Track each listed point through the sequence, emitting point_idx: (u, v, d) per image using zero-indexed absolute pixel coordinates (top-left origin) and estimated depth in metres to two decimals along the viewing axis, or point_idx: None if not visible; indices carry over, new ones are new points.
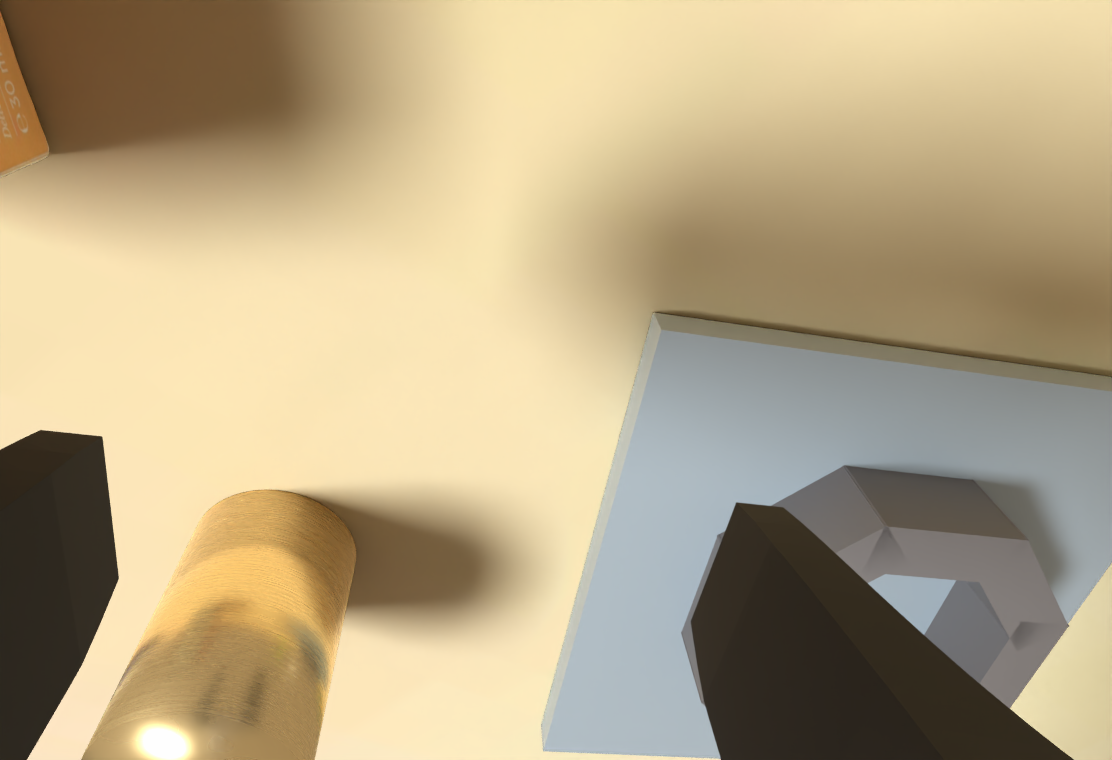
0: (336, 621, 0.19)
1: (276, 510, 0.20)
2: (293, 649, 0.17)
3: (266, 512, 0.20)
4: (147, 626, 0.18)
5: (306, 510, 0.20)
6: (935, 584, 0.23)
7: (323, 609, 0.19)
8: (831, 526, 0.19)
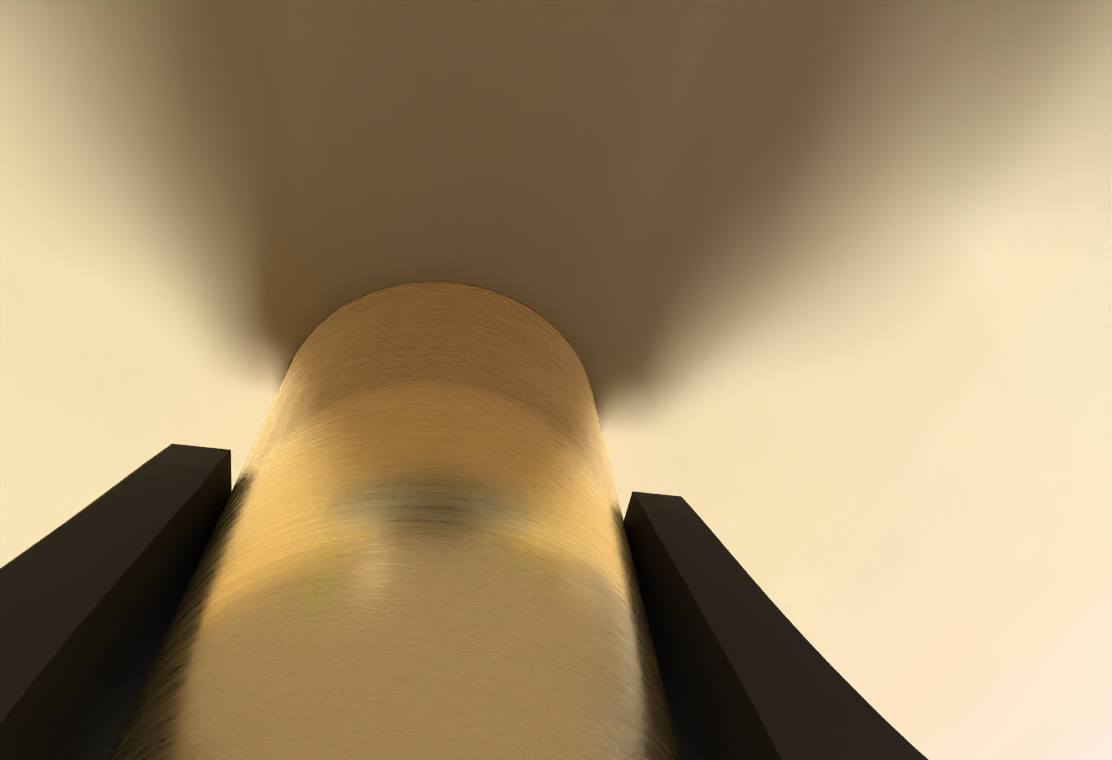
0: (383, 402, 0.07)
1: None
2: (213, 583, 0.06)
3: None
4: None
5: None
6: None
7: (313, 433, 0.07)
8: None
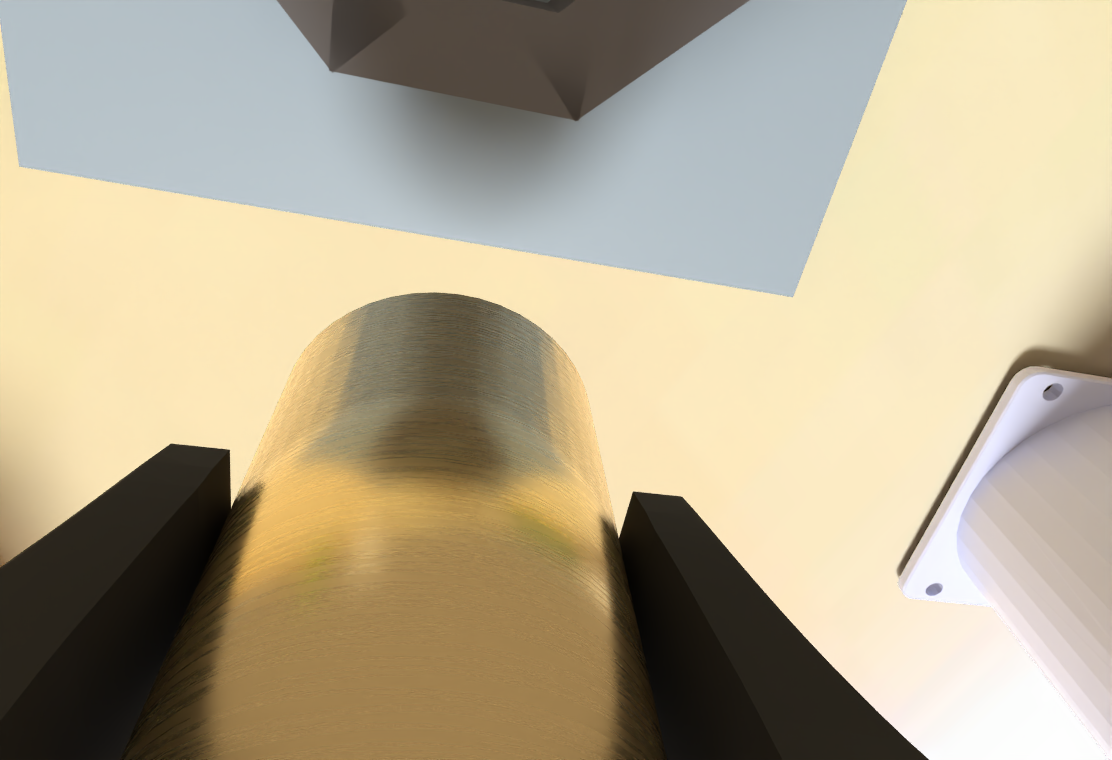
0: (380, 418, 0.07)
1: None
2: (213, 601, 0.06)
3: None
4: None
5: (287, 382, 0.10)
6: None
7: (311, 449, 0.07)
8: None
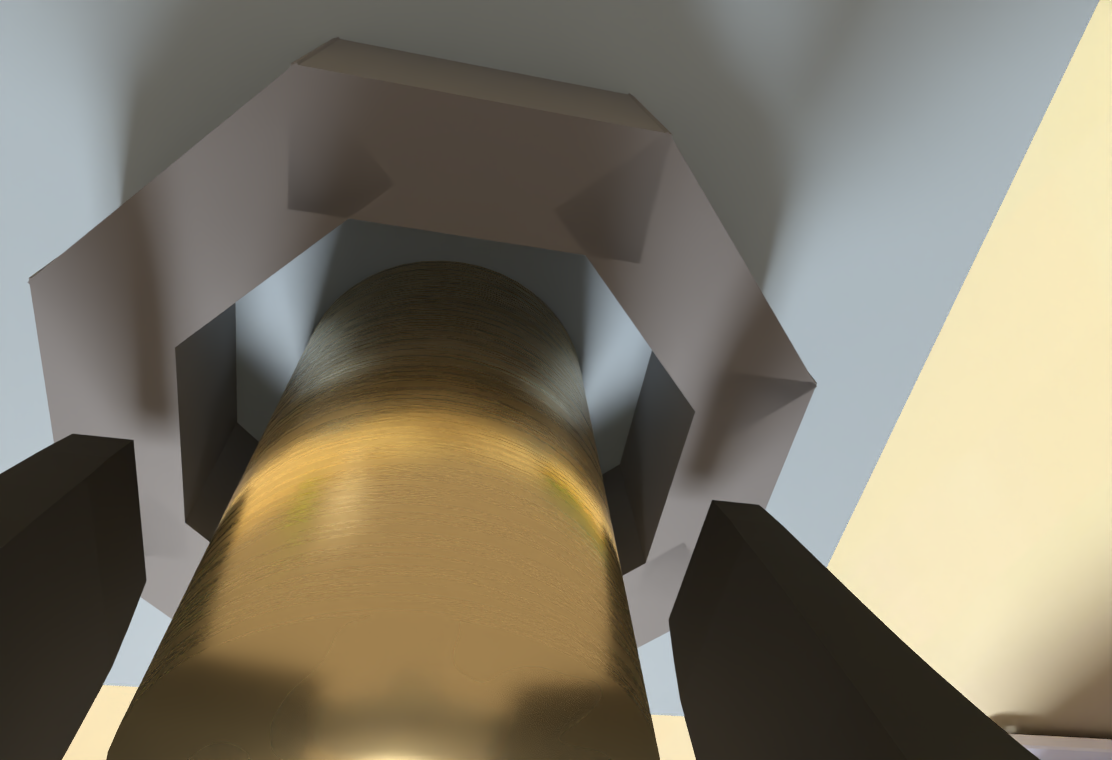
0: (392, 353, 0.09)
1: None
2: (254, 488, 0.07)
3: None
4: None
5: (310, 339, 0.11)
6: None
7: (334, 377, 0.09)
8: None
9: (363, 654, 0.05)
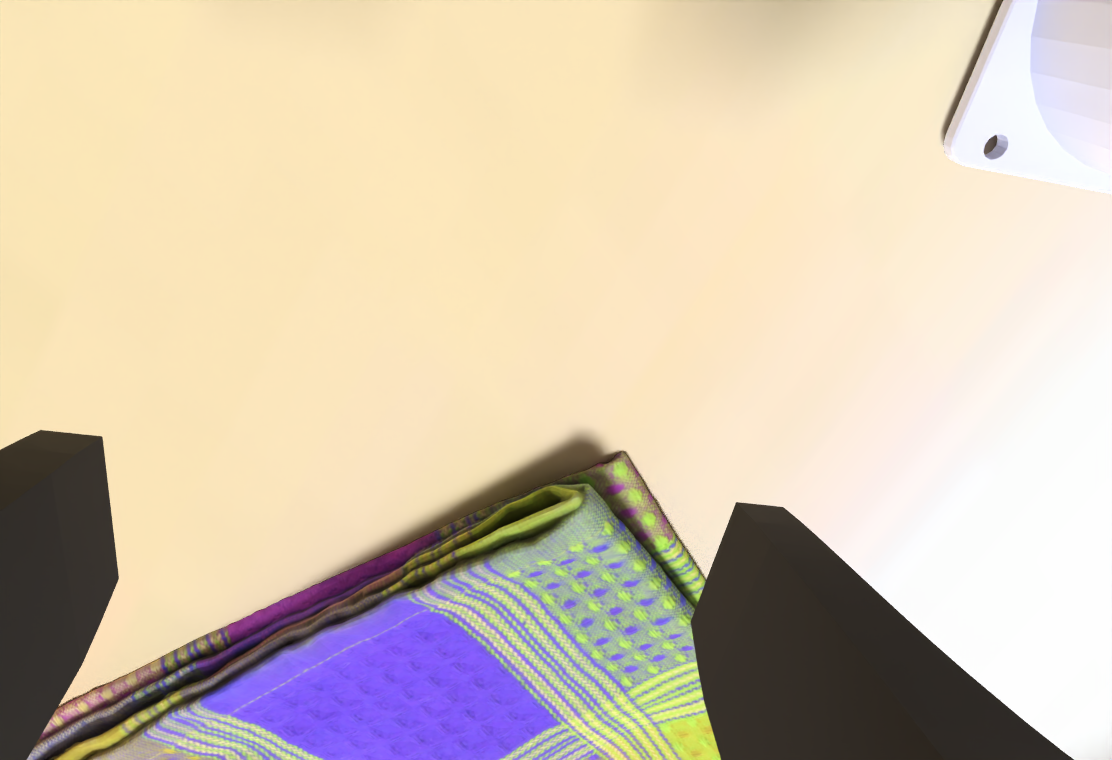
0: None
1: None
2: None
3: None
4: None
5: None
6: None
7: None
8: None
9: None
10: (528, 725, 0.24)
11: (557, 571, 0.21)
